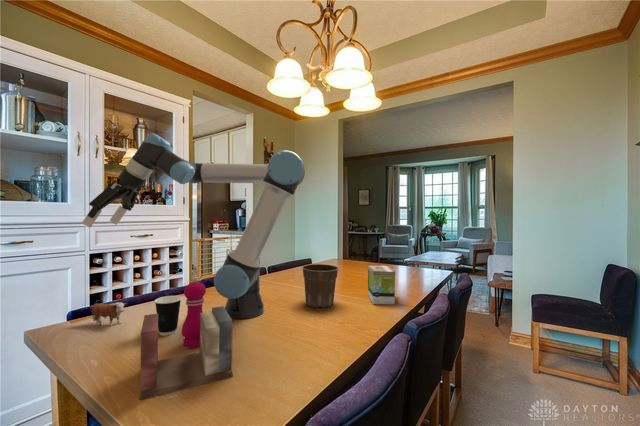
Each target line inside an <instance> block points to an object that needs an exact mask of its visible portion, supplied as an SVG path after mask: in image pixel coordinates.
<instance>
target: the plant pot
mask: <svg viewBox="0 0 640 426" xmlns="http://www.w3.org/2000/svg"><path fill="white" fill-rule="evenodd" d="M301 269H302V275H303V276H302V277H303V278H304V280H303V281H304V295H305V304H306V306H308V307H311V308H316V309H317V308H318V309H319V308H320V307H321V308H322V309H324V308H330V307H332V306H333V305H334V303H335V302H334V300H335V299H334V298H335V291H336V290H335V289H336V283H337V282H336V281H337V278H338V272H339V270H340V268H339V266H336V265H333V264H323V263H321V264H320V263H316V264H314V263H312V264H305V265H302V266H301Z"/></svg>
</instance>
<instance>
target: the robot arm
mask: <svg viewBox="0 0 640 426" xmlns="http://www.w3.org/2000/svg"><path fill="white" fill-rule="evenodd" d="M170 148H171V143H170V142H168V141H167V140H166V139H165V138H163V137H161V136H160V135H158V134H156V133H153V132H151V133H149V134H147V136H146V137H145V139H144V140H143V141H142V142H141V144H140V146H139V147H138V148H137V150H136V152H135V153H134V155H133V156H132V157H131V158H130V159H129V161H128V163H127V164H126V165H125V168H124V169H122V171H121V172H120V173H119V175H118V179H119V182H118V183H117V182H115V181H112V182H111V183H110V184H109V185H108V187H106V188H105V189H104V190H103V191H102V192H101V193H99V194H98V195H97V196H95V198H94V199H92V200H91V201H90V202H89V203H88V205H89V206H91V209H90V210H89V211H88V213H87V215H86V216H85V217H84V219H83V220H82V221H81V224H82V225H84V226H86V227H88V228H92V226H93V225H94V223H95V222H96V221H97V219H99V217H100V215H101V213H102V212H103V211H102V209H104V208H105V207H107V206H108V205H110V204H111V203H112V202H114V201H116V200H117V199H120V198H121V205H119V206H118V208H117V209H116V210H115V212H114V214H113V215H112V216H111V218H110V219H109V222H111V223H112V224H114V225H116V226H117V225H119V223H120V221H121V220H122V218H123V217H124V216H125V214H126V213H127V211H129V212H130V211H132V209H133V208H134V207H135V205H136V201H137V199H138V196H139V194H140V193H139V192H140V191H141V189H142V187H143V186H144V184H145V183H146V182H147V179H148V180H149V178H150V176H151V174H152V173H153V172H154V170H155V169H158V170H159V171H161V172H163V174H165V175H166V176H168V177H169V178H170V179H172V180H173V181H175V182H177V183H179V184H181V185H186V184H188V183H190V184H199V183H212V184H213V183H219V184H220V183H221V184H223V183H224V184H225V183H226V184H263V187H264V189H263V190H262V193H261V195H260V197H259V198H258V201H257V203H256V205H255V207H254V209H253V212H252V213H251V216H250V218H249V220H248V222H247V224H246V227H245V229H244V230H243V232H242V235H241V237H240V239H239V241H238V243H237V245H236V248H235V249H234V250H232V251H229V252H228V254H227V256H226V258H225V260H224V263H223V264H222V266H221V267H220V268H218V269H217V271H216V273H215V275H214V277H213V285H214V288H215V290H216V292H217V294H219V295H220V296H222V297H223V298H226V299H227V300H226V302H225V303H226V304H225V306H224V308H225V310H226V311H227V313H228V314H229V316H230V317H231V319H237V320H238V319H240V320H244V319H252V318H255V317H258V316H261V315H262V314H263V313H264V312H265V307H264V302H263V301H264V300H263V298H262V295H261V291H260V282H261V280H260V278H261V276H260V275H261V274H260V273H261V271H260V270H261V260H260V257H261V254H262V252H263V249H264V248H265V246H266V244H267V242H268V239H269V237H270V235H271V233H272V231H273V229H274V227H275V225H276V223H277V220H278V218H279V216H280V214H281V212H282V209H283V207H284V206H285V204H286V202H287V200H288V199H289V198H291V197H293V196H294V195H295V192H296V190H297V188H298V186H299V185H301V183H302V182H303V180H304V179H305V174H306V173H305V172H306V171H305V164H304V161H303V160H302V158H301V156H299V155H298V154H297V153H295V152H293V151H291V150H281V151H277V152H276V153H274V154H273V155H272V156H271V157H270V159H269V161H268V163H266V164H265V163H264V164H263V163H262V164H261V163H260V164H259V163H211V162H210V163H206V162H204V163H202V162H201V163H200V162H198V163H196V162H191V161H188V160H185V159H184V158H181V157H180V156H179V155H177V154H176V153H174V152H172V151H171V150H170Z"/></svg>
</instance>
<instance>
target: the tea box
mask: <svg viewBox="0 0 640 426" xmlns="http://www.w3.org/2000/svg"><path fill="white" fill-rule="evenodd" d="M367 267H368V268H367V295H368V296H367V297H368V298H369V299H370V301H371V303H372V304H373V305H395V294H396V293H395V291H396V290H395V288H396V286H395V285H396V271H395V270H394V269H392V268H391V267H390V266H388V265H368V266H367Z"/></svg>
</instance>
